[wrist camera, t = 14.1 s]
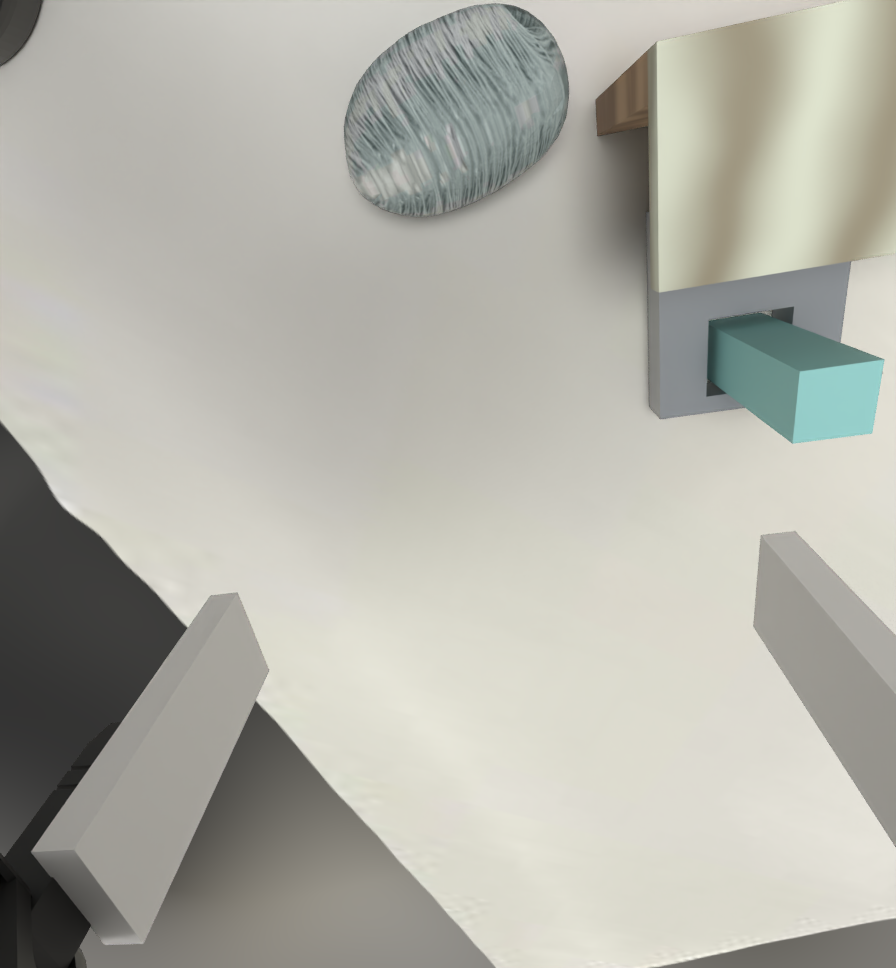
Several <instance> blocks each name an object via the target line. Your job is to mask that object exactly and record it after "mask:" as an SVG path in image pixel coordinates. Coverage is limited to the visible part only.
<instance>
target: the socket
mask: <svg viewBox="0 0 896 968" xmlns="http://www.w3.org/2000/svg"><path fill="white" fill-rule="evenodd" d="M646 230H647V292H648V354H649V407H650V408H651V409H652V410H653V411H654V413H655V414H656V415H657V416H658V417H659V419H666V418H674V417H681V416H688V415H695V414H703V413H710V412H717V411H725V410H732V409H739V408H745V407H744V406H743V405H741V404H740V403H739V402H737V401H736V400H735V399H733V398H732V397H731V396H729V395H728V394H727V393H725V392H724V391H723V390H722V389H720V388H719V387H718V386H716V385H715V384H714V383H712V382H710V383H707V356H708V322H709V320H710V319H716V318H723V317H729V316H735V315H742V314H748V313H755V312H761V311H767V310H773V311H772V317H773V318H776V319H779V320H781V321H784V322H787V323H789V324H792V325H794V326H797V327H800V328H802V329H805V330H808V331H810V332H813V333H816V334H818V335H821V336H824V337H826V338H829V339H831V340H834V341H837V342H839V343H840V342H841V334H842V326H843V319H844V311H845V303H846V296H847V288H848V280H849V273H850V265H851V261H849V262H843V263H837V264H831V265H824V266H818V267H812V268H806V269H800V270H794V271H788V272H782V273H776V274H770V275H763V276H757V277H751V278H745V279H739V280H733V281H727V282H721V283H715V284H709V285H702V286H696V287H690V288H684V289H678V290H672V291H666V292H660V293H658V292H656V291H654V290H652V289H651V283H650V211H648V212H646Z"/></svg>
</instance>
